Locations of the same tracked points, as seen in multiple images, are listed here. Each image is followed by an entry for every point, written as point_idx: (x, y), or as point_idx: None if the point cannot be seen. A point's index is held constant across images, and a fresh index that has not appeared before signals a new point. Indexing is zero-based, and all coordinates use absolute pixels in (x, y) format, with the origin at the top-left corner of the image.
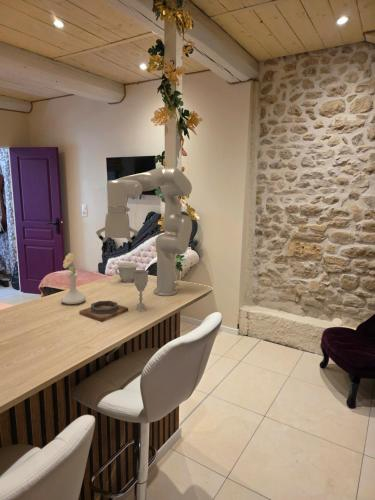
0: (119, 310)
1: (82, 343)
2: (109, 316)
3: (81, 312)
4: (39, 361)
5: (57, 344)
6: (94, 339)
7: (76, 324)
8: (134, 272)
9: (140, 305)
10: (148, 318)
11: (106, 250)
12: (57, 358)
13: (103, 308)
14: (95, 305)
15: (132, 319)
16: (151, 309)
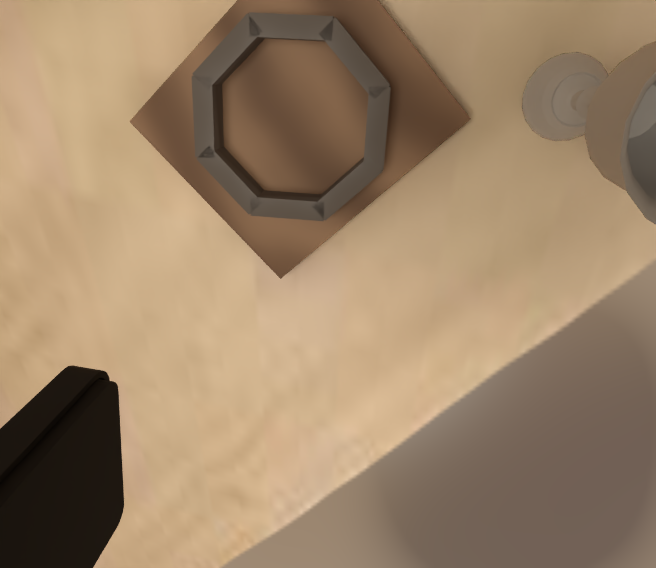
0: (398, 164)
1: (212, 464)
2: (327, 238)
3: (148, 138)
4: None
5: None
6: (258, 445)
7: (152, 272)
8: (653, 81)
9: (569, 121)
10: (566, 275)
11: (108, 533)
12: (144, 538)
13: (288, 100)
14: (226, 74)
15: (465, 270)
16: None
